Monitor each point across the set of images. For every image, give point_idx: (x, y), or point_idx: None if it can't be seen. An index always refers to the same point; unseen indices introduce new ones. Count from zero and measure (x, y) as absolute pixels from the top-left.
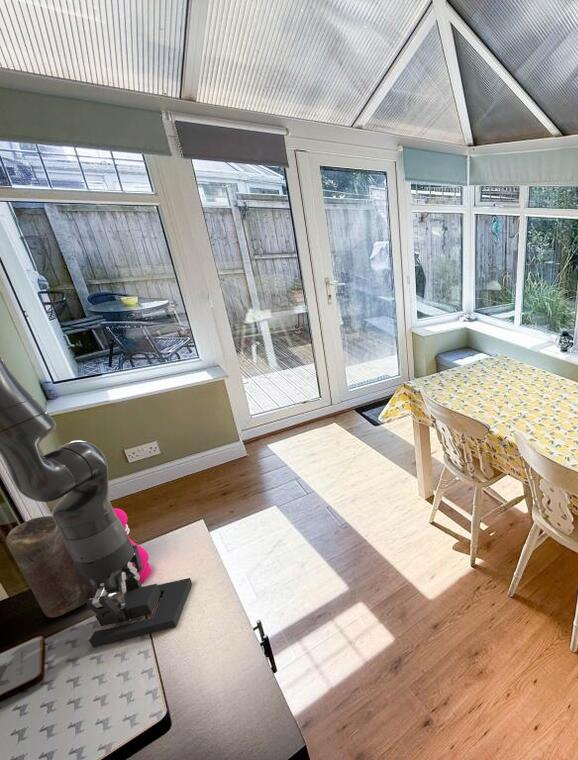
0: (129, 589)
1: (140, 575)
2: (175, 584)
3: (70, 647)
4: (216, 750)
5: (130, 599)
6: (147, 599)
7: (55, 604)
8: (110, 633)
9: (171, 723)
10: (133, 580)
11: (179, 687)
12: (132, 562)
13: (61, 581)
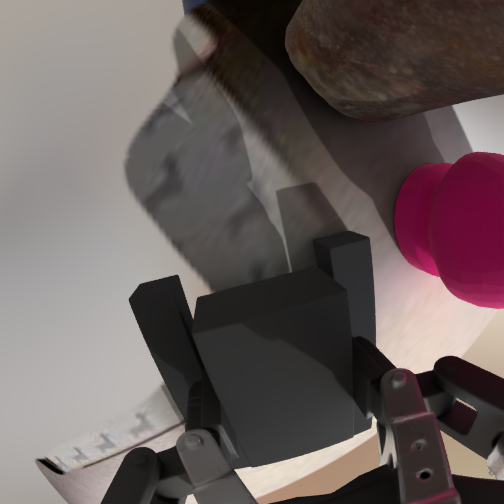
0: (353, 375)
1: (434, 270)
2: (358, 414)
3: (146, 192)
4: (64, 498)
5: (287, 415)
6: (274, 460)
7: (313, 30)
8: (164, 358)
9: (61, 474)
10: (379, 421)
11: (100, 478)
12: (469, 434)
13: (437, 18)
